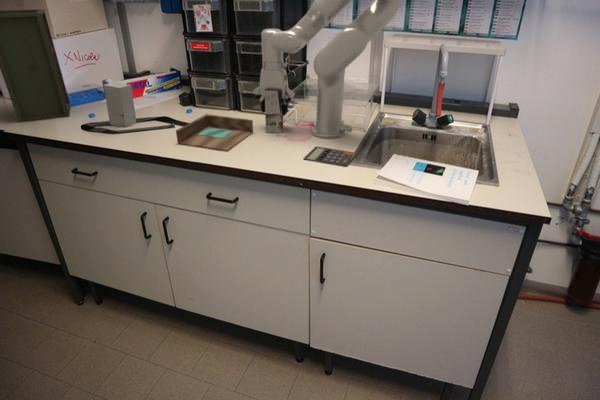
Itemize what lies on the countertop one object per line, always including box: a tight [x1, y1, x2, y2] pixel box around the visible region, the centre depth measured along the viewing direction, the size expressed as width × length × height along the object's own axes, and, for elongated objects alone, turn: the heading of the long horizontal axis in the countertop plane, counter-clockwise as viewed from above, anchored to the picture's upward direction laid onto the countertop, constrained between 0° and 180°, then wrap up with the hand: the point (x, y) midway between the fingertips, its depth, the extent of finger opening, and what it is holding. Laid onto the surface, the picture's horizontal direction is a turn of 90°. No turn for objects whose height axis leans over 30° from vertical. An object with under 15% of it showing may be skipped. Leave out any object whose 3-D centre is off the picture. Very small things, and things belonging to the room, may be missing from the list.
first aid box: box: [0, 8, 71, 123], centre depth 167 cm, size 18×18×40 cm
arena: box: [175, 113, 254, 152], centre depth 150 cm, size 20×20×5 cm
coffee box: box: [264, 89, 284, 134], centre depth 157 cm, size 9×6×16 cm
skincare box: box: [103, 81, 137, 128], centre depth 162 cm, size 8×7×16 cm
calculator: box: [303, 146, 356, 168], centre depth 137 cm, size 12×1×15 cm
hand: (274, 112), depth 158 cm, fingers closed on coffee box, 7 cm apart
